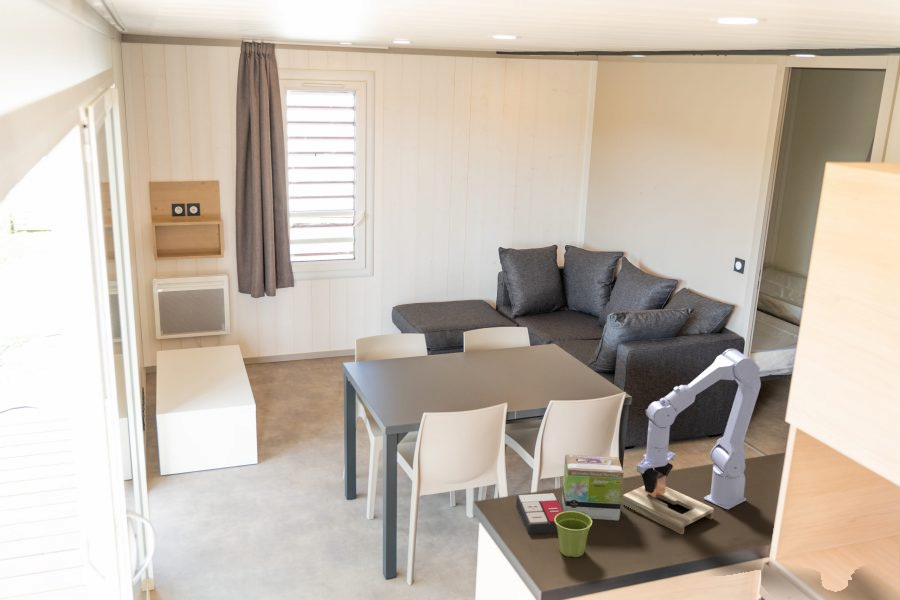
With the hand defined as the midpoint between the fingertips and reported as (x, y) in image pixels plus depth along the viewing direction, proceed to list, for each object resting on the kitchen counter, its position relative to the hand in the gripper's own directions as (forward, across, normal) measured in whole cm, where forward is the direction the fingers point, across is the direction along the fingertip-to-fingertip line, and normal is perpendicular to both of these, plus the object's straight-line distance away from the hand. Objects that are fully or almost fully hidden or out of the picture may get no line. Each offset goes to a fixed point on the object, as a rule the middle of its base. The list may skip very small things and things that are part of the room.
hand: (654, 489), depth 223 cm
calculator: (+5, +30, -13) cm, 34 cm away
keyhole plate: (+5, 0, +5) cm, 7 cm away
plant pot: (+5, +36, +3) cm, 36 cm away
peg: (+4, 0, 0) cm, 5 cm away
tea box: (+5, +17, -8) cm, 19 cm away
